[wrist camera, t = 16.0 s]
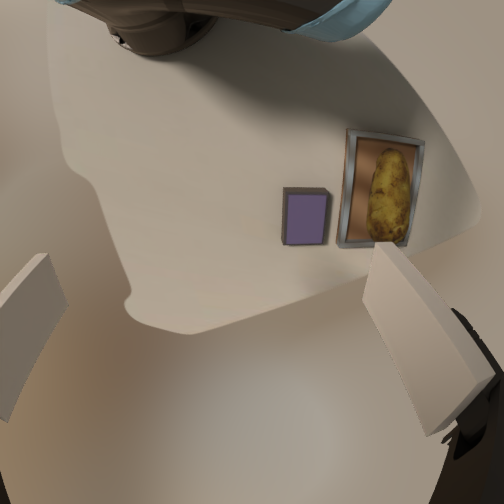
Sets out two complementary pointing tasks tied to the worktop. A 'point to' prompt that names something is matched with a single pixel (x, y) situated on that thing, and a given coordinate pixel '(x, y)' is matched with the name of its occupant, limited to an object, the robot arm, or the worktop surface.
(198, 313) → the worktop surface
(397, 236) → the potato
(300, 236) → the ink pad
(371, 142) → the metal baking tray
